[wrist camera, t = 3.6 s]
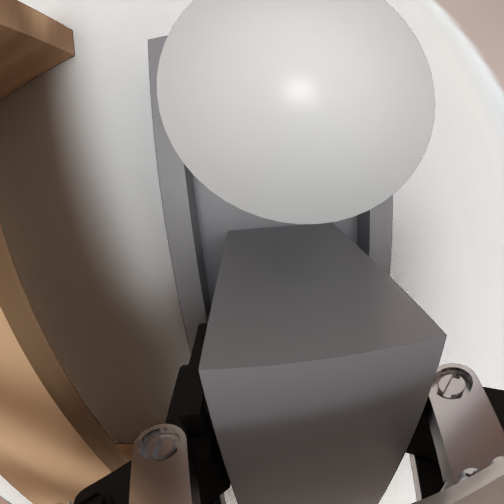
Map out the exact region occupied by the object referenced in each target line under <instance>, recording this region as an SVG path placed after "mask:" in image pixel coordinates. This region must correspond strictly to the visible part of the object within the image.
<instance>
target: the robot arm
mask: <svg viewBox="0 0 504 504" xmlns="http://www.w3.org/2000/svg"><path fill="white" fill-rule="evenodd" d="M207 325H208V322H207V323H201V324H199V325H198V329H197V333H196V337H195V341H194V345H193V349H192V353H191V357H190V362H189V365H182V366H181V367H180V369H179V373H178V377H177V380H176V384H175V388H174V392H173V396H172V399H171V403H170V407H169V411H168V415H167V419H166V423H165V424H158V425H154V426H151V427H149V428H148V429H146V430H144V431H143V432H142V433H141V434H140V435H139V436H138V437H137V439H136V440H135V442H134V446H133V452H132V460H131V461H129V462H127V463H126V464H124V465H123V466H121V467H119V468H118V469H116V470H115V471H113V472H111V473H110V474H108V475H106V476H105V477H103V478H101V479H100V480H98V481H96V482H95V483H93V484H91V485H89V486H88V487H86V488H84V489H83V490H82V491H80V492H79V493H78V495H77V496H76V497H75V500H74V502H72V501H71V500H69V499H68V500H65V501H61V502H58V503H54V504H226V502H225V497H224V492H225V491H226V490H227V489H228V488H230V484H231V482H230V479H229V476H228V473H227V470H226V467H225V464H224V461H223V457H222V454H221V451H220V448H219V444H218V441H217V437H216V434H215V431H214V427H213V424H212V420H211V416H210V413H209V409H208V405H207V402H206V398H205V394H204V390H203V386H202V382H201V378H200V374H199V370H198V369H199V364H200V359H201V354H202V349H203V344H204V339H205V334H206V330H207ZM406 453H409V456H410V462H411V468H412V473H413V480H414V486H415V493H416V500H417V502H415V503H412V504H504V390H498V389H492V388H487V387H482V385H481V383H480V381H479V379H478V377H477V375H476V374H475V373H474V371H473V370H471V369H470V368H468V367H467V366H464V365H461V364H455V363H450V364H444V365H441V366H438V368H437V372H436V375H435V378H434V381H433V384H432V387H431V390H430V393H429V396H428V398H427V401H426V404H425V407H424V409H423V412H422V415H421V417H420V420H419V422H418V425H417V427H416V429H415V432H414V434H413V436H412V439H411V441H410V443H409V445H408V448H407V450H406Z"/></svg>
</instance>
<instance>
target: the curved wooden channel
mask: <svg viewBox="0 0 504 504" xmlns="http://www.w3.org/2000/svg"><path fill="white" fill-rule="evenodd" d="M74 55H75V54H74V44H73V32H72V30H71V29H69V28H67V27H66V26H64V25H62V24H60V23H59V22H57V21H55V20H53V19H52V18H50V17H48V16H46V15H44V14H42V13H41V12H39V11H37V10H35V9H33V8H31V7H29V6H27V5H25V4H23V3H21V2H19V1H17V0H0V101H1V100H2V99H3V98H5V97H6V96H8V95H9V94H11V93H12V92H14V91H15V90H16V89H18V88H19V87H21V86H22V85H24V84H26V83H27V82H29V81H30V80H32V79H33V78H35V77H37V76H38V75H40V74H42V73H43V72H45V71H47V70H48V69H50V68H52V67H54V66H56V65H57V64H59V63H61V62H63V61H65V60H67V59H68V58H70V57H72V56H74ZM133 446H134V444H117V443H114V442H113V441H112V440H111V439H110V437H109V436H108V435H107V433H106V432H105V431H104V429H103V428H102V427H101V425H100V424H99V423H98V421H97V420H96V418H95V417H94V416H93V414H92V413H91V411H90V410H89V409H88V407H87V406H86V404H85V403H84V401H83V400H82V398H81V397H80V395H79V394H78V392H77V391H76V389H75V387H74V386H73V384H72V383H71V381H70V379H69V378H68V376H67V374H66V373H65V371H64V369H63V368H62V366H61V364H60V363H59V361H58V359H57V357H56V355H55V354H54V352H53V350H52V348H51V346H50V344H49V342H48V341H47V339H46V337H45V335H44V333H43V331H42V329H41V327H40V325H39V323H38V321H37V319H36V316H35V314H34V312H33V310H32V308H31V305H30V303H29V301H28V299H27V296H26V294H25V292H24V289H23V287H22V284H21V282H20V279H19V277H18V274H17V272H16V269H15V266H14V264H13V261H12V258H11V255H10V252H9V249H8V246H7V243H6V240H5V237H4V234H3V230H2V227H1V224H0V475H1V476H2V477H4V478H5V479H6V480H7V481H8V482H9V483H10V484H11V485H12V486H13V487H14V488H15V489H17V490H18V491H19V492H20V493H21V494H22V495H23V496H25V497H26V498H27V499H28V500H29V501H31V502H32V503H33V504H54V503H58V502H61V501H65V500H68V499H69V500H71V501H72V502H74V500H75V497H76V496H77V495H78V493H79V492H80V491H82V490H83V489H84V488H86V487H88V486H89V485H91V484H93V483H95V482H96V481H98V480H100V479H101V478H103V477H105V476H106V475H108V474H110V473H111V472H113V471H115V470H116V469H118V468H119V467H121V466H123V465H124V464H126V463H127V462H129V461H131V460H132V452H133Z"/></svg>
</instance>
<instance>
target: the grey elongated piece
mask: <svg viewBox="0 0 504 504" xmlns="http://www.w3.org/2000/svg"><path fill="white" fill-rule="evenodd" d="M148 57H149V78H150V94H151V107H152V119H153V130H154V140H155V150H156V159H157V168H158V176H159V184H160V191H161V198H162V205H163V212H164V219H165V225H166V232H167V238H168V244H169V250H170V255H171V261H172V266H173V272H174V277H175V282H176V288H177V293H178V298H179V302H180V307H181V312H182V317H183V321H184V326H185V330H186V335H187V339H188V343H189V348H190V352H191V353H192V349H193V345H194V341H195V337H196V333H197V329H198V325H199V324H201V323H207V322H208V325H207V330H206V334H205V339H204V344H203V349H202V354H201V359H200V364H199V369H198V370H199V374H200V378H201V382H202V386H203V390H204V394H205V398H206V402H207V405H208V409H209V413H210V416H211V420H212V424H213V427H214V431H215V434H216V437H217V441H218V444H219V448H220V451H221V454H222V457H223V461H224V464H225V467H226V470H227V473H228V476H229V479H230V482H231V485H232V488H233V491H234V494H235V497H236V500H237V503H238V504H378V503H379V502H380V500H381V498H382V496H383V495H384V493H385V491H386V489H387V487H388V486H389V484H390V482H391V480H392V478H393V476H394V474H395V472H396V470H397V468H398V466H399V464H400V462H401V460H402V458H403V456H404V454H405V452H406V450H407V448H408V445H409V443H410V441H411V439H412V436H413V434H414V432H415V429H416V427H417V425H418V422H419V420H420V417H421V415H422V412H423V409H424V407H425V404H426V401H427V398H428V396H429V393H430V390H431V387H432V384H433V381H434V378H435V375H436V372H437V368H438V365H439V362H440V358H441V355H442V351H443V348H444V344H445V340H446V336H447V335H446V334H445V333H444V332H443V330H442V329H441V328H440V327H439V326H438V325H437V324H436V323H435V322H434V321H433V320H432V319H431V318H430V317H429V316H428V315H427V313H426V312H425V311H424V310H423V309H422V308H421V307H420V306H419V305H418V304H417V303H416V302H415V301H414V300H413V299H412V298H411V297H410V296H409V295H408V294H407V293H406V292H405V291H404V290H403V289H402V288H401V287H400V286H399V285H398V284H397V283H396V282H395V281H394V280H393V279H392V278H391V277H390V263H391V246H392V218H393V194H394V193H395V192H396V191H398V189H399V188H400V187H401V186H402V185H403V184H404V183H405V182H406V181H407V180H408V179H409V178H410V176H411V175H412V173H413V172H414V171H415V169H416V168H417V166H418V165H419V163H420V161H421V159H422V157H423V155H424V153H425V151H426V148H427V146H428V143H429V140H430V137H431V133H432V128H433V123H434V115H435V93H434V85H433V79H432V74H431V70H430V67H429V64H428V61H427V58H426V56H425V54H424V51H423V49H422V47H421V45H420V43H419V41H418V39H417V38H416V36H415V35H414V33H413V31H412V30H411V28H410V27H409V26H408V24H407V23H406V22H405V21H404V19H403V18H402V17H401V16H400V15H399V13H398V12H397V11H396V10H395V9H394V8H393V7H391V6H390V5H389V4H388V3H387V2H386V1H385V0H193V2H192V3H191V4H190V5H189V6H188V7H187V8H186V9H185V10H184V11H183V12H182V14H181V15H180V17H179V18H178V19H177V21H176V22H175V24H174V25H173V27H172V29H171V31H170V33H169V35H168V36H163V37H158V38H154V39H150V40H148Z"/></svg>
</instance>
